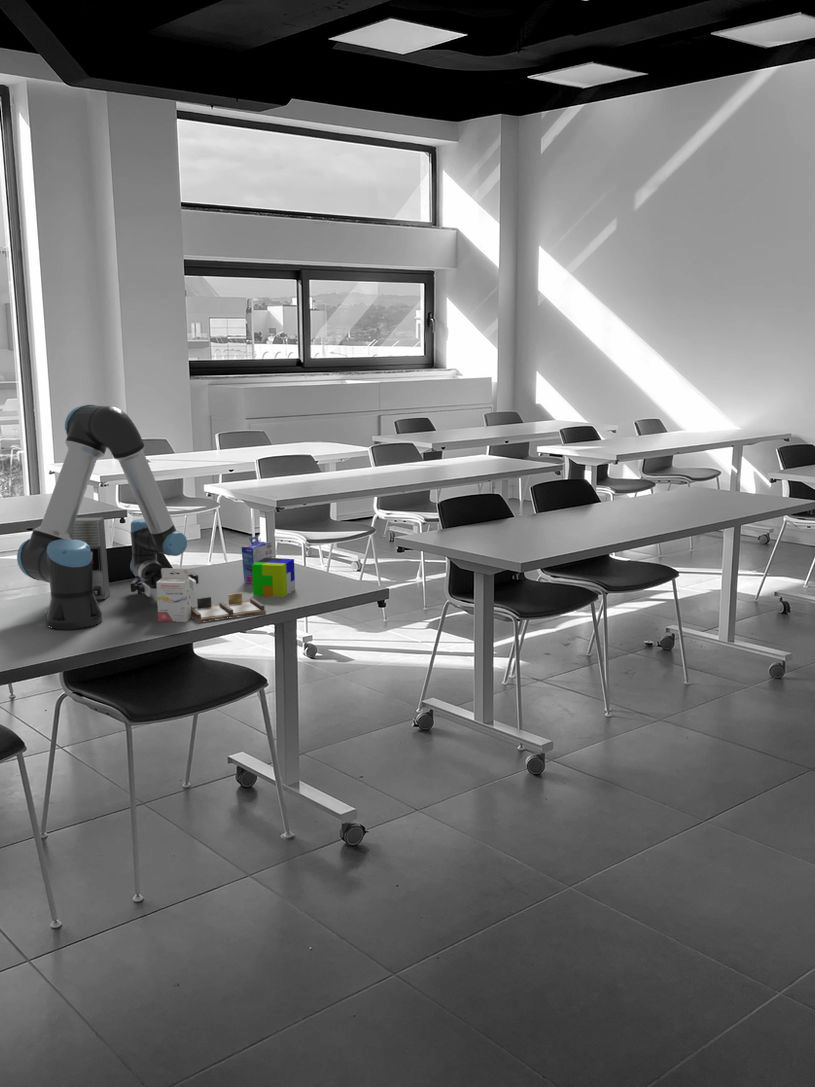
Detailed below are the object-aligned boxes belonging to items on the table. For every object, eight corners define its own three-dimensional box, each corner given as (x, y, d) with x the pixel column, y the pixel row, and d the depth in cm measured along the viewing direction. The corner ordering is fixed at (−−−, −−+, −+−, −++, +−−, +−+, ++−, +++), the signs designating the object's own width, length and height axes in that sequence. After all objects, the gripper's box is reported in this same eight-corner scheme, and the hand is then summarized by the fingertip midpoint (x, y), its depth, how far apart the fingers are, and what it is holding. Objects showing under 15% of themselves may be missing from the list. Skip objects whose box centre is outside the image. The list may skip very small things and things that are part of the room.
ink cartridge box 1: (157, 621, 302) (154, 571, 299) (163, 617, 307) (160, 567, 304) (186, 622, 301) (183, 571, 298) (192, 617, 306) (189, 568, 303)
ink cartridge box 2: (261, 576, 355) (260, 534, 352) (274, 578, 352) (272, 535, 350) (242, 582, 347) (240, 539, 344) (255, 584, 344) (253, 541, 341)
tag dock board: (198, 623, 300) (198, 609, 299) (185, 611, 312) (184, 598, 311) (265, 613, 309) (265, 600, 308) (250, 603, 321) (249, 590, 320)
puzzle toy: (295, 589, 337) (294, 559, 335) (283, 597, 328) (281, 565, 326) (266, 588, 340) (264, 557, 338) (253, 595, 330) (251, 564, 328)
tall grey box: (60, 601, 327) (53, 521, 322) (66, 596, 333) (59, 518, 328) (104, 600, 327) (99, 520, 322) (110, 595, 333) (104, 517, 328)
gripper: (193, 581, 332) (214, 595, 313) (113, 591, 321) (129, 607, 302) (192, 558, 330) (213, 571, 312) (111, 567, 319) (128, 581, 301)
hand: (172, 588), depth 307 cm, fingers open, 13 cm apart
